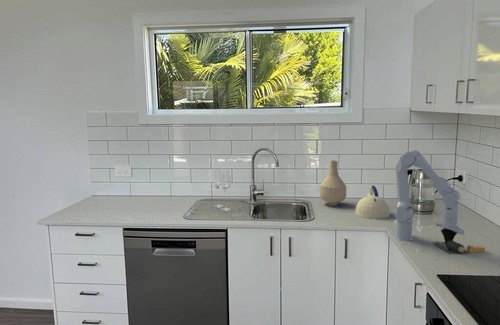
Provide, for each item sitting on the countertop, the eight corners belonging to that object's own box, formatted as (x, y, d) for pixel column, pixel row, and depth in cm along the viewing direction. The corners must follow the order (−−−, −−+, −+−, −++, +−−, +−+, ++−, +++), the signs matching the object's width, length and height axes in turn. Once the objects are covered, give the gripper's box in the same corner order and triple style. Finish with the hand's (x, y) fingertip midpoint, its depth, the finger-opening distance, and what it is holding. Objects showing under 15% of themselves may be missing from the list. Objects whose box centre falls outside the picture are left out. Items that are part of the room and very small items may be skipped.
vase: (336, 209, 245) (337, 163, 241) (314, 204, 258) (315, 160, 254) (351, 204, 257) (352, 160, 253) (329, 200, 270) (330, 158, 266)
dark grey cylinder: (446, 249, 174) (445, 240, 173) (453, 247, 175) (453, 239, 174) (458, 255, 167) (457, 246, 166) (466, 253, 168) (465, 244, 167)
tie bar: (466, 250, 171) (467, 245, 171) (481, 250, 172) (481, 244, 171) (469, 252, 169) (470, 246, 169) (484, 251, 170) (485, 246, 169)
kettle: (384, 210, 243) (386, 182, 240) (393, 219, 222) (395, 189, 220) (352, 209, 245) (353, 182, 242) (358, 218, 224) (359, 188, 222)
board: (430, 243, 182) (430, 240, 182) (449, 242, 183) (449, 239, 183) (461, 262, 159) (461, 259, 159) (482, 261, 160) (483, 258, 160)
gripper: (431, 213, 180) (429, 240, 182) (456, 221, 166) (454, 251, 168) (443, 211, 182) (441, 239, 184) (468, 220, 168) (466, 249, 170)
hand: (448, 244), depth 176 cm, fingers closed
